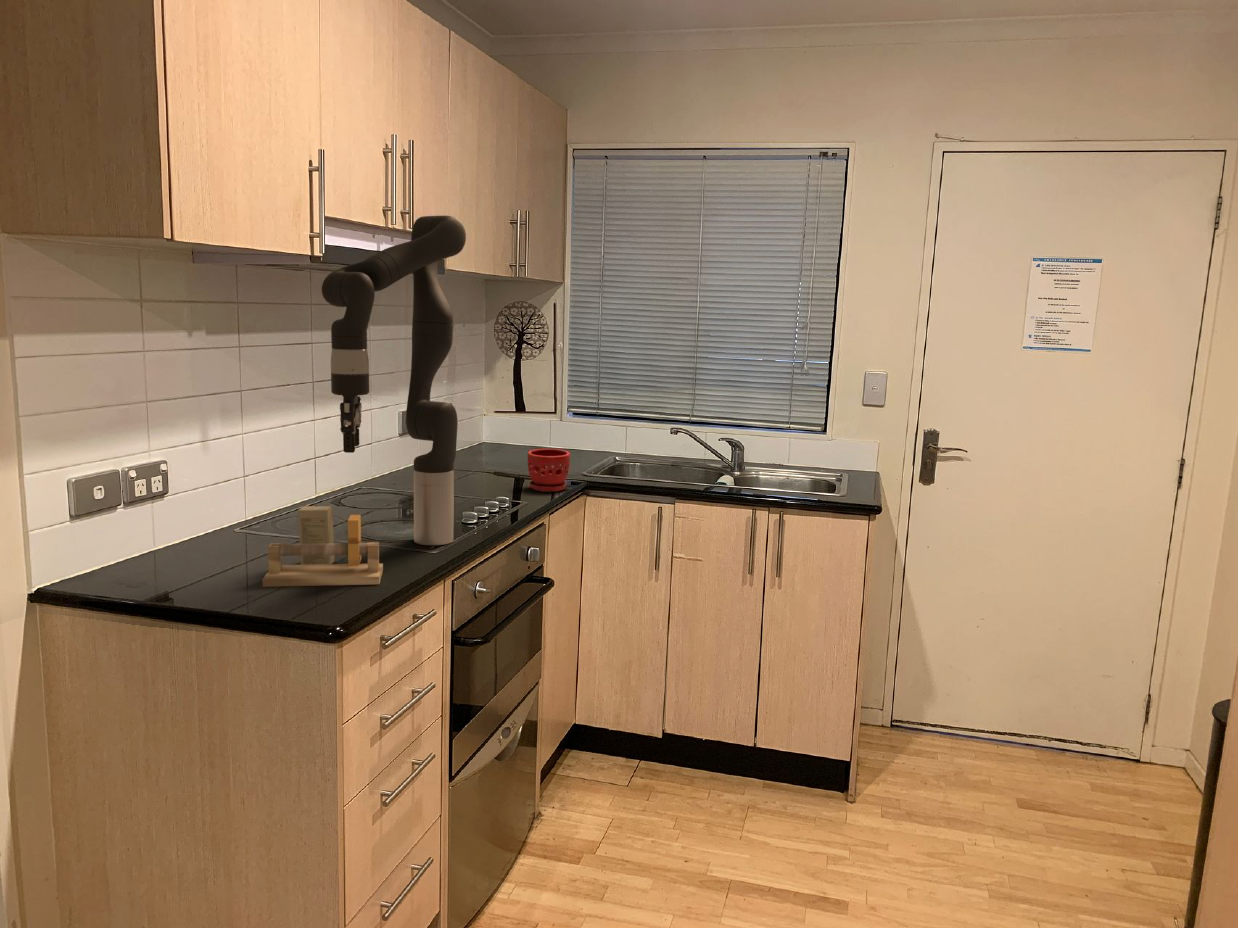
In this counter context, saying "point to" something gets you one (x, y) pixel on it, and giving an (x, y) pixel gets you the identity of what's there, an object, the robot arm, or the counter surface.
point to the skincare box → (316, 531)
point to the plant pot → (548, 469)
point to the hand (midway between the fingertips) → (351, 449)
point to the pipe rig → (322, 566)
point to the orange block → (354, 540)
